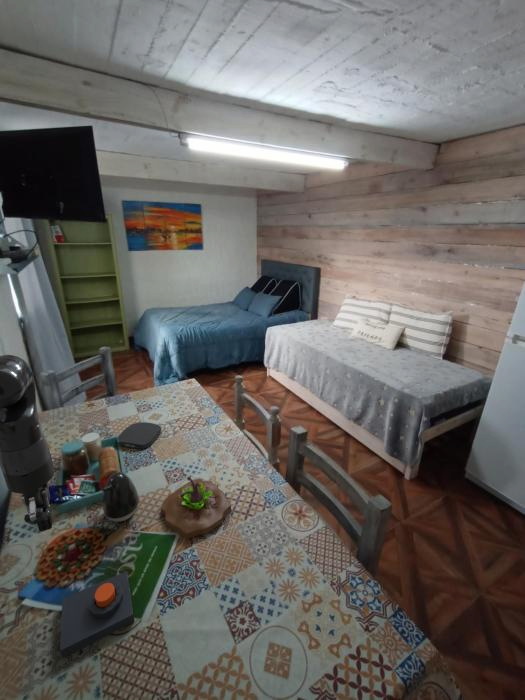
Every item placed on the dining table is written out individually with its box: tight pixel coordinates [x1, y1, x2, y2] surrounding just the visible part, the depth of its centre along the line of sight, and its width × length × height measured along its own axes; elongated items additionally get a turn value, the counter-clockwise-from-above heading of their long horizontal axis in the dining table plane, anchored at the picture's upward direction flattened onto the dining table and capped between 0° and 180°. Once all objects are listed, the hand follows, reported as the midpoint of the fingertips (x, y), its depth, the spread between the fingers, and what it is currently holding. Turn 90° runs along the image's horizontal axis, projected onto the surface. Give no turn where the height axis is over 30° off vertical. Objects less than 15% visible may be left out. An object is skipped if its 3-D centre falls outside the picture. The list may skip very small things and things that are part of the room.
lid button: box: [95, 583, 115, 607], centre depth 72 cm, size 4×4×2 cm
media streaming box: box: [117, 421, 162, 450], centre depth 134 cm, size 15×15×3 cm
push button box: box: [59, 570, 136, 659], centre depth 72 cm, size 14×11×4 cm
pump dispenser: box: [101, 471, 140, 523], centre depth 96 cm, size 10×10×15 cm
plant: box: [160, 475, 232, 540], centre depth 99 cm, size 20×20×11 cm
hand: (46, 527), depth 65 cm, fingers closed
